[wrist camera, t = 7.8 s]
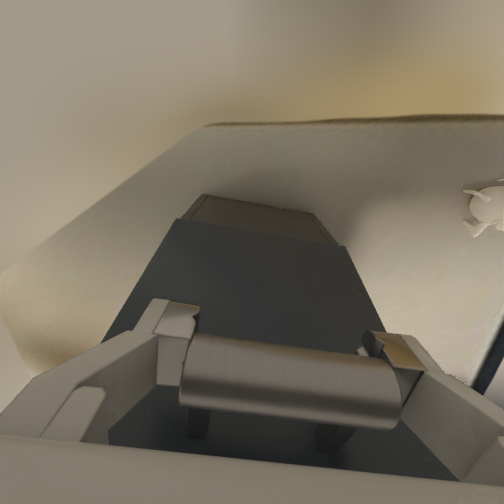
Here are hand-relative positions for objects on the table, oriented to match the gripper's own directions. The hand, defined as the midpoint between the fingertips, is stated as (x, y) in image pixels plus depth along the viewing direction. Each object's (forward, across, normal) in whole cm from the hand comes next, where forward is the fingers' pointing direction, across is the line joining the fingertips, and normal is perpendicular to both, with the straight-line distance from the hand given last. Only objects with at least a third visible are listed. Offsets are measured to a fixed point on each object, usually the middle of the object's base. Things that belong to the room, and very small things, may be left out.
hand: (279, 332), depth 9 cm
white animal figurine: (+24, -26, -4) cm, 35 cm away
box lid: (+5, 0, +3) cm, 6 cm away
